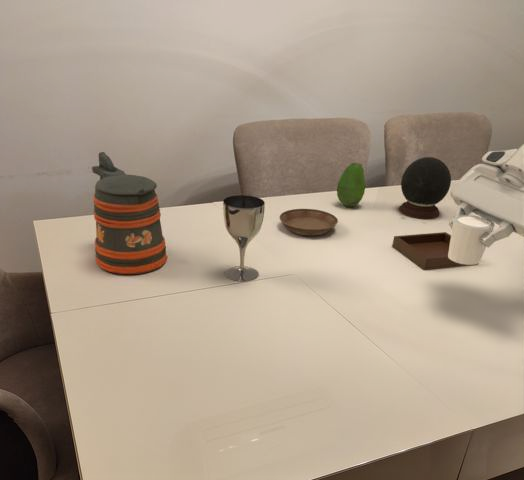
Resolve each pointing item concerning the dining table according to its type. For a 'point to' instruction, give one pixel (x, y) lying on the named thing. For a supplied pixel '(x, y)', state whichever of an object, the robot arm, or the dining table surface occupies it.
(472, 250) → the white cup
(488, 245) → the robot arm
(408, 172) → the black ball on stand
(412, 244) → the tray
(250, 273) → the wine glass
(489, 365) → the dining table surface
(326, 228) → the saucer
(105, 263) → the beer stein
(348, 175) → the avocado
